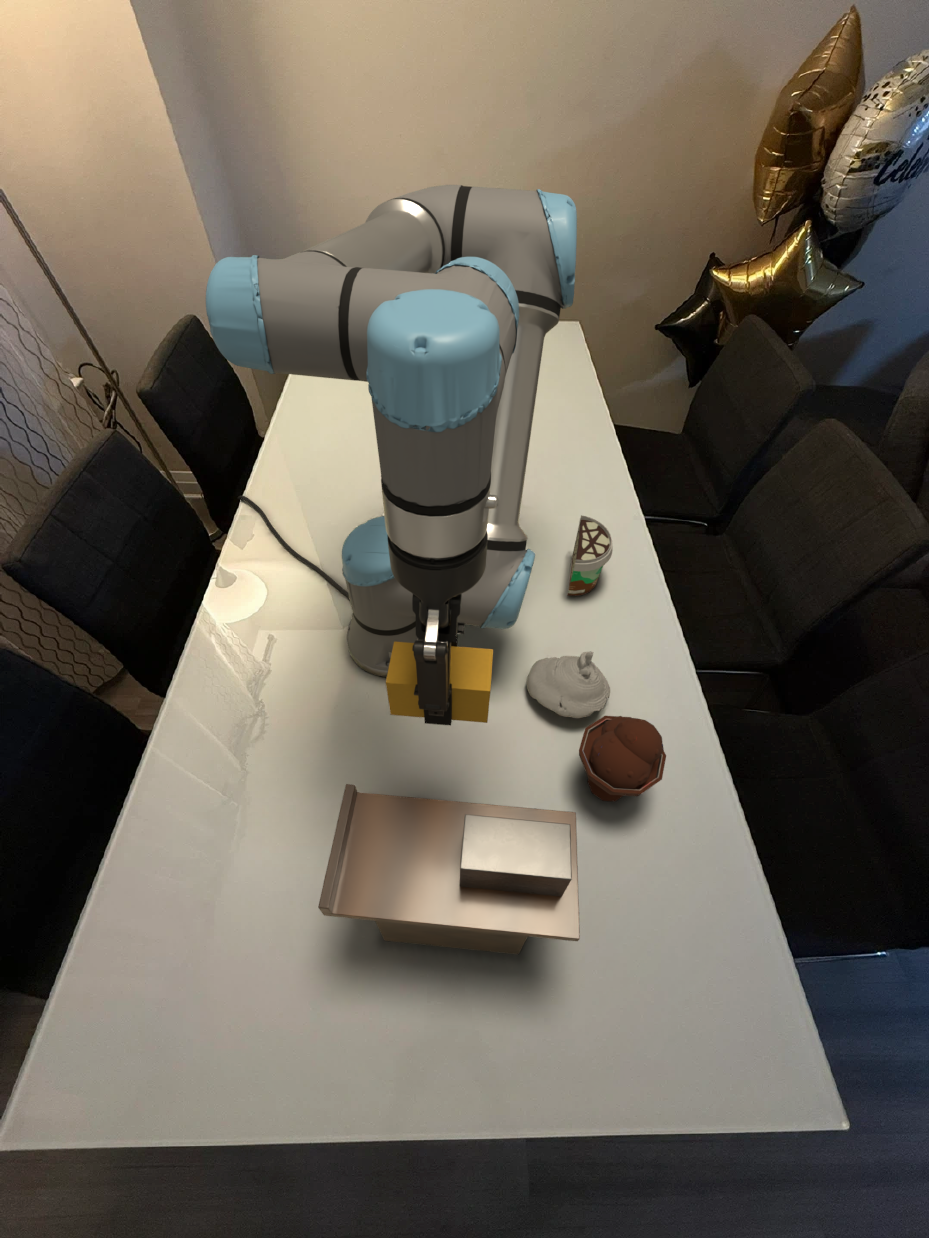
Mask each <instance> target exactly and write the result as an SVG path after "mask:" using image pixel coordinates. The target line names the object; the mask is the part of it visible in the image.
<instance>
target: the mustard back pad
mask: <svg viewBox="0 0 929 1238" xmlns="http://www.w3.org/2000/svg"><path fill="white" fill-rule="evenodd" d="M413 645H414V643H407V642H394V644H393V649H392V654H391V659H390V664H389V669H388V673H387V677H385V678H386V679H385V687H386V692H387V693H386V694H387V700H388V707H389V713H390V715H391V716H400V717H410V718H411V717H412V718H413V717H414V718H423V719H424V709H419V705H418V700H419V698H418V696H416V695H414V690H415V685H416V684H417V671H416V661H415V658H414V652H413V651H412V648H413ZM493 659H494V649H493V648H481V647H471V646H470V647H468V646H458V645H457V647H455V646H451V660H450V684H452V721H460V722H470V723H471V722H472V723H482V724H483V723H484V724H487V723H488V722H489V710H490V700H491V690H492V676H493V675H492V674H493Z"/></svg>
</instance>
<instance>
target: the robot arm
mask: <svg viewBox="0 0 929 1238" xmlns="http://www.w3.org/2000/svg"><path fill="white" fill-rule="evenodd" d="M576 206H577V205H576V203H575V202H574V200H573V199H572V198H571V197H570V196H569V195H567V194H563V193H556V192H548V191H543V190H541V188H537V189H536V190H530V189H529V190H528V189H515V188H514V189H513V188H500V187H487V186H485V187H484V186H467V185H462V184H443V185H435V186H429V187H426V188H421V189H419V190H415V191H411V192H407V193H404V194H401V195H399V196H396V197H394V198H391V199H388V200H386V201H384V202H382V203H380V204H378V205H377V206H376V207H375V208H374V209H372V211H371V212H370V213H369V215H368V216H367V218H366V220H365V222H364V223H362V224H360V225H357V226H355V227H352V228H350V229H348V230H346V231H344V232H342V233H339V234H338V235H335V236H332V237H331V238H328V239H326V240H324V241H322V242H319V243H317V244H315V245H313V246H310V247H309V248H306V249H304V250H302V251H300V252H297V253H295V254H292V255H289V256H287V257H284V258H265V257H260V256H259V255H256V254H253V255H251V256H227V257H224V258H221V259H220V260H219V261H217V262H216V263H215V265H214V266H213V267H212V270H211V271H210V274H209V276H208V279H207V283H206V288H205V312H206V316H207V321H208V324H209V331H210V334H211V337H212V340H213V342H214V344H215V346H216V348H217V349H218V351H219V352H220V354H221V355H222V356H223V357H224V358H225V360H227V361H228V362H230V363H231V364H233V365H234V366H237V367H240V368H247V369H252V370H258V371H264V372H267V373H268V374H270V375H276V374H284V375H294V376H303V377H313V378H325V379H334V380H345V381H355V382H356V381H357V382H365V383H368V385H367V387H368V388H367V389H368V394H369V396H370V398H371V405H372V414H373V421H374V422H373V423H374V429H375V437H376V445H377V454H378V461H379V469H380V485H381V493H382V506H383V515H381V516H377V517H373V518H370V519H368V520H366V522H364V523H361V524H359V525H357V526H356V527H355V528H353V529H352V530H351V531H350V533H349V534H348V535H347V536H346V538H345V539H344V542H343V544H342V547H341V562H342V569H341V571H342V575H343V578H344V580H345V585H346V589H347V590H346V589H345V588H343V586H341V585H340V584H339V583H337V582H336V581H335V580H334V579H333V578H332V577H331V576H329V574H327V573H326V572H325V571H324V570H323V569H321V568H320V567H318V566H317V565H316V564H314V563H313V562H311V561H310V560H309V559H307V558H305V557H304V556H303V555H301V554H300V553H298V552H297V551H296V550H295V549H293V548H292V547H291V546H290V545H289V544H288V543H287V542H286V541H285V540H284V539H283V537H282V536H281V534H280V533H279V532H278V531H277V530H276V529H275V527H274V526H273V525H272V523H271V522H270V520H269V518H268V516H267V514H266V513H265V512H264V511H263V509H262V508H261V507H260V506H259V505H257V504H256V503H255V502H254V501H253V500H252V499H250V498H249V497H248V496H245V495H238V497H237V500H243V501H245V502H247V503H248V504H249V505H250V506H252V508H254V509H255V510H256V511H257V512H258V513H259V514H260V515H261V517H262V518H263V520H264V522H265V524H266V525H267V527H268V528H269V529H270V531H271V532H272V533H273V535H274V536H275V537H276V539H277V540H278V541H279V542H280V544H281V545H282V546H283V547H284V548H285V549H286V550H287V551H288V552H289V553H291V555H293V556H294V557H295V558H296V559H298V560H299V561H301V562H303V563H304V564H306V565H307V566H309V567H310V568H311V569H312V570H314V571H316V572H317V573H318V574H319V575H321V576H322V577H323V578H325V580H327V582H329V583H330V584H331V585H332V586H333V587H335V588H336V589H337V590H338V591H339V592H340V593H341V594H343V595H344V596H345V597H346V598H348V599H349V603H350V607H351V611H352V613H351V619H350V621H349V623H348V627H347V631H346V643H347V648H348V652H349V654H350V657H351V659H352V660H353V661H354V663H355V664H356V665H357V666H358V667H359V668H361V669H362V670H363V671H365V672H367V673H368V674H371V675H374V676H378V677H383V678H387V673H388V669H389V664H390V659H391V654H392V649H393V644H394V642H407V643H414V645H413V648H412V651H413V652H414V658H415V661H416V671H417V684H416V685H415V690H414V695H416V696H418V698H419V700H418V705H419V709H424V718H423V719H424V720H423V721H424V724H427V725H437V726H438V725H439V726H448V727H449V726H450V727H451V726H452V722H453V720H452V684H450V660H451V646H455V647H457V646H458V637H459V636H458V635H464V634H465V625H467V626H474V627H479V628H480V629H485V628H488V629H498V630H507V629H508V630H509V629H510V628H512V627H513V626H514V625H515V624H516V623H517V621H518V619H519V615H520V612H521V609H522V606H523V603H524V599H525V596H526V592H527V588H528V585H529V581H530V577H531V573H532V570H533V566H534V563H535V562H534V561H535V558H536V553H535V552H534V551H533V550H531V548H527V544H528V535H527V534H526V533H525V531H524V530H523V529H522V527H521V526H520V523H519V522H520V515H521V507H522V500H523V493H524V486H525V479H526V472H527V464H528V457H529V449H530V442H531V435H532V427H533V421H534V413H535V407H536V406H535V405H536V400H537V392H538V391H537V390H538V387H539V386H538V385H539V377H540V371H541V364H542V356H543V349H544V342H545V337H546V335H547V334H548V333H549V332H550V331H552V329H553V328H555V327H556V326H557V325H558V324H559V321H560V316H561V309H562V310H566V309H567V308H571V307H572V306H573V304H574V299H575V298H574V297H575V283H576V265H577V245H578V244H577V237H578V212H577V207H576Z"/></svg>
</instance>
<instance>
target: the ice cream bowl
mask: <svg viewBox="0 0 929 1238" xmlns="http://www.w3.org/2000/svg"><path fill="white" fill-rule="evenodd" d="M578 748H579V749H578V756H579V758H580V762H581V763H582V766H583V768H584V771H585V773H586V775H587V780H586V782H587V785H588V787H589V789H590V791H591V794H593V795H594V796H595V797H597V798H598V799H600V800H601V801H603V802H617V801H618V800H620V799H621V798H623V797H624V796H628V797H639V796H641V795H642V794H644V793H645V792H646V791H648V790H649V789H651V788H652V787H653V786H655V785H656V784H658V783H659V782H661V781H662V780H663V777H664V771H665V765H666V760H667V754H666V751H665V749H664V744H663V736H662V735H661V734H660V731H659V730H658V728H656V726H655V725H654V724H652V723H651V722H649V721H647V719H642V718H637V717H631V716H622V715H603V716H602V717H600V718H599V719H597V720H595V721H594V722H592V723H591V724H589V725H587V726H586V727H585V728H584V731H583V735H582V738H581V741H580V745H579V747H578Z"/></svg>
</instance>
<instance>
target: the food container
mask: <svg viewBox="0 0 929 1238" xmlns="http://www.w3.org/2000/svg"><path fill="white" fill-rule="evenodd" d="M578 522H579V523H578V528H577V531H576V532H577V533H576V536H575V540H574V546H573V551H572V555H571V560H570V569H569V576H568V585H567V591H566V592H567V593H566V596H568V597H577V596H578V597H580V596H584V595H586V594H589V593H590V592H592V591H593V589H595V588H596V586H597V583H598V580H599V577H600V576H601V574H602V570H603V568H604V566H605V565H606V564H607V563H608V562H610V560H611V558H612V556H613V551H614V549H613V547H614V546H613V538H612V535H611V533H610V531H609V529H608V528H607V527H606V526H605V525H604V524H603V523H602V522H600V521H599V520H597V519H595V518H593V517H590V516H587V515H580V518H579V521H578Z"/></svg>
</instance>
